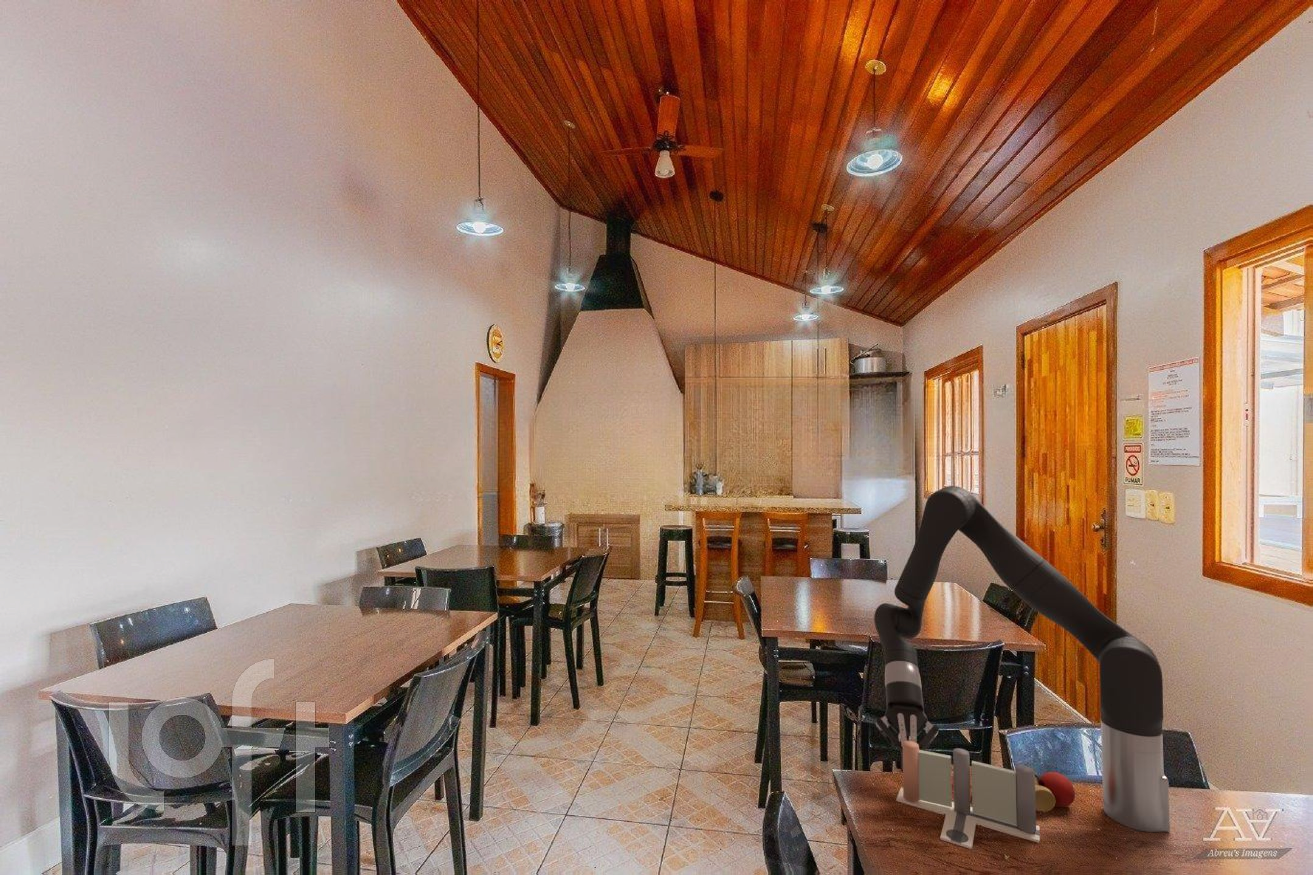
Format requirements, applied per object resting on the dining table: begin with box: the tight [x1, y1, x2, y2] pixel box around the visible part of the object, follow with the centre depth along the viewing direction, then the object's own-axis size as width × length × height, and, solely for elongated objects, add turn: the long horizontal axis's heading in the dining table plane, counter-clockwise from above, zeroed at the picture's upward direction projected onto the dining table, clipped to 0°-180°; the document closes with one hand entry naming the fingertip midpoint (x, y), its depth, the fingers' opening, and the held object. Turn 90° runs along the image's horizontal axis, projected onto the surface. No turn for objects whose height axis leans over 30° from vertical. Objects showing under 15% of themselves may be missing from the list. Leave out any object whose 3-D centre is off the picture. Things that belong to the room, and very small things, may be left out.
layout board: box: [895, 786, 1041, 850], centre depth 110 cm, size 24×14×1 cm, turn 57°
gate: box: [902, 740, 953, 807], centre depth 117 cm, size 9×3×10 cm, turn 65°
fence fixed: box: [952, 748, 1037, 832], centre depth 111 cm, size 13×3×11 cm, turn 57°
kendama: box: [1035, 771, 1076, 813], centre depth 118 cm, size 8×6×18 cm
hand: (910, 771), depth 120 cm, fingers closed
